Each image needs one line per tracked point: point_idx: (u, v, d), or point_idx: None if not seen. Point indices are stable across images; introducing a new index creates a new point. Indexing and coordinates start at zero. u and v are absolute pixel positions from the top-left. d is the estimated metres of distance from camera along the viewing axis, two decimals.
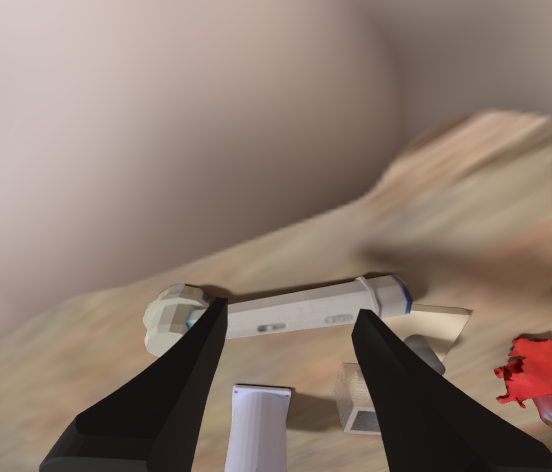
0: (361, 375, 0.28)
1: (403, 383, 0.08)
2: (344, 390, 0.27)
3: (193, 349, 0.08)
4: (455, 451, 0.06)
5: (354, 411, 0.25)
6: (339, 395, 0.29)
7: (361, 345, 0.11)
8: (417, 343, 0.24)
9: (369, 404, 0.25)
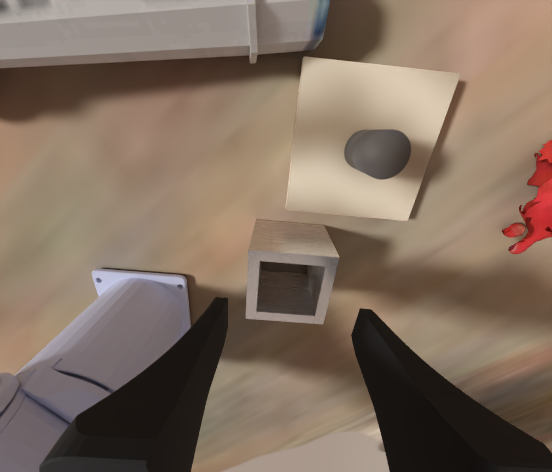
0: (281, 228, 0.16)
1: (403, 383, 0.08)
2: None
3: (193, 349, 0.08)
4: (455, 451, 0.06)
5: (252, 263, 0.14)
6: None
7: (361, 345, 0.11)
8: (364, 131, 0.13)
9: (279, 249, 0.14)
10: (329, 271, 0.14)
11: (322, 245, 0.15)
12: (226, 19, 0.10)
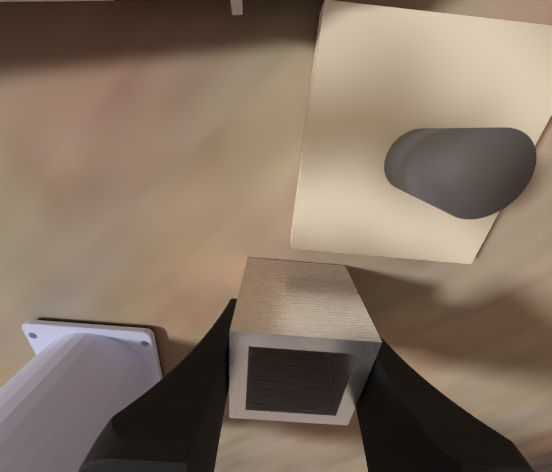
0: (284, 276, 0.11)
1: (380, 381, 0.08)
2: None
3: (215, 350, 0.08)
4: (424, 449, 0.06)
5: (237, 349, 0.08)
6: None
7: None
8: (427, 131, 0.08)
9: (280, 327, 0.08)
10: (363, 361, 0.08)
11: (349, 312, 0.09)
12: None
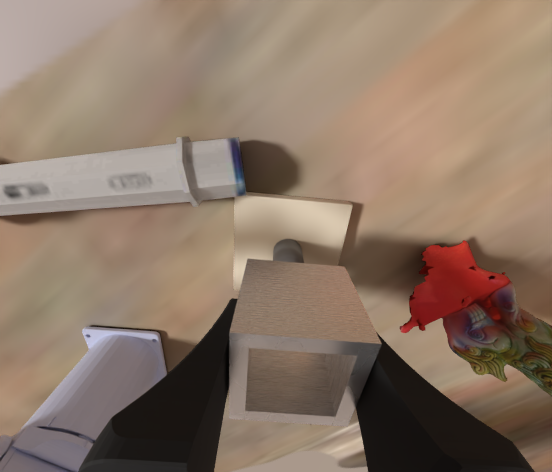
0: (284, 277, 0.11)
1: (380, 381, 0.08)
2: None
3: (216, 351, 0.08)
4: (424, 449, 0.06)
5: (237, 351, 0.08)
6: None
7: None
8: (282, 246, 0.17)
9: (280, 328, 0.08)
10: (363, 362, 0.08)
11: (349, 313, 0.09)
12: (172, 194, 0.14)
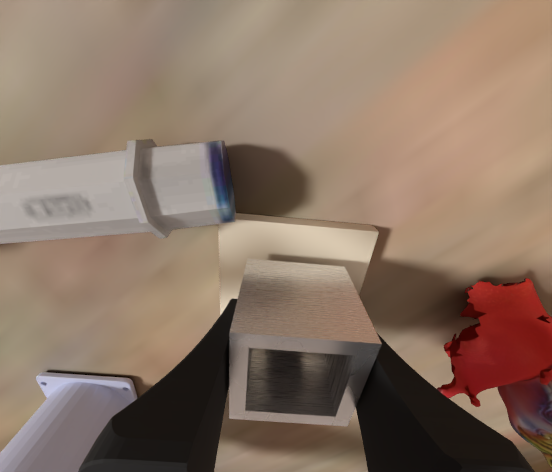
0: (284, 277, 0.11)
1: (380, 381, 0.08)
2: None
3: (215, 350, 0.08)
4: (424, 449, 0.06)
5: (237, 351, 0.08)
6: None
7: None
8: None
9: (280, 329, 0.08)
10: (363, 362, 0.08)
11: (349, 313, 0.09)
12: (125, 223, 0.10)
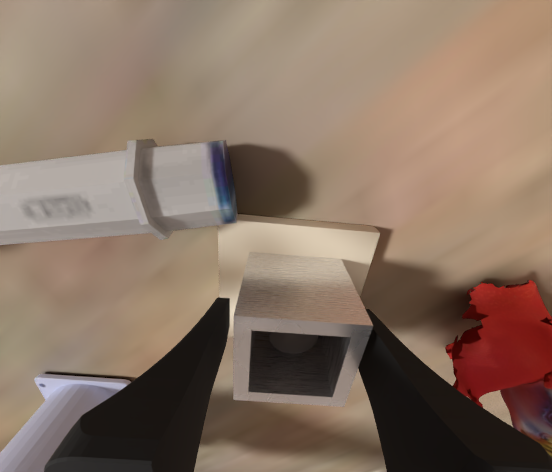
0: (284, 268, 0.12)
1: (400, 383, 0.08)
2: None
3: (195, 349, 0.08)
4: (451, 451, 0.06)
5: (241, 333, 0.09)
6: None
7: None
8: None
9: (280, 313, 0.09)
10: (356, 343, 0.09)
11: (344, 299, 0.10)
12: (126, 225, 0.10)
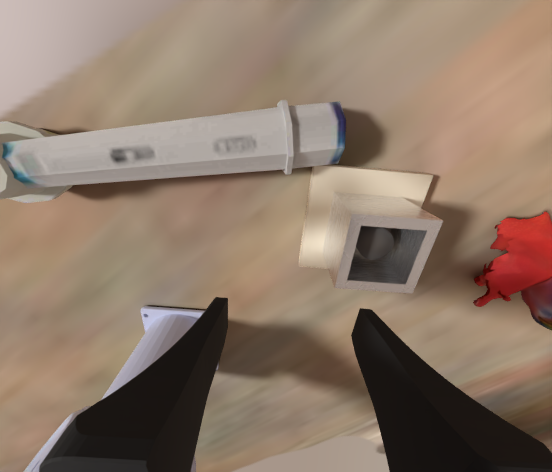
0: (365, 199, 0.16)
1: (403, 383, 0.08)
2: (337, 222, 0.16)
3: (193, 349, 0.08)
4: (455, 451, 0.06)
5: (353, 228, 0.14)
6: (330, 244, 0.18)
7: (361, 345, 0.11)
8: None
9: (380, 214, 0.13)
10: (430, 236, 0.14)
11: (417, 211, 0.14)
12: (272, 159, 0.14)
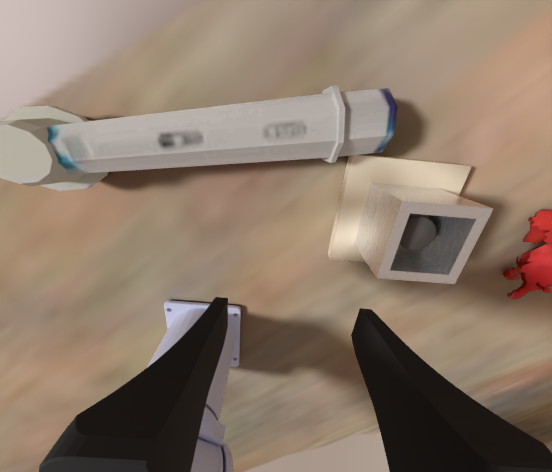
0: (405, 189, 0.16)
1: (403, 383, 0.08)
2: (377, 211, 0.16)
3: (193, 349, 0.08)
4: (455, 451, 0.06)
5: (402, 216, 0.13)
6: (366, 235, 0.17)
7: (361, 345, 0.11)
8: None
9: (429, 201, 0.13)
10: (478, 224, 0.14)
11: (463, 200, 0.14)
12: (319, 146, 0.14)
